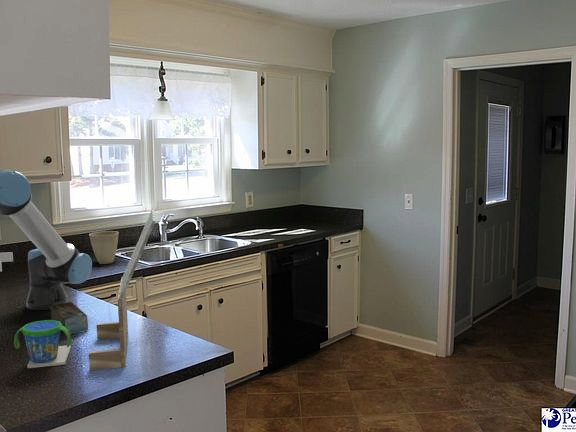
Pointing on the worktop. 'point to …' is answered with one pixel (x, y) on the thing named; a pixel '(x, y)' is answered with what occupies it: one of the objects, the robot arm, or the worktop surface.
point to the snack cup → (42, 339)
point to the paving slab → (59, 360)
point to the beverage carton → (69, 317)
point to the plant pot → (104, 245)
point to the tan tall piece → (120, 312)
